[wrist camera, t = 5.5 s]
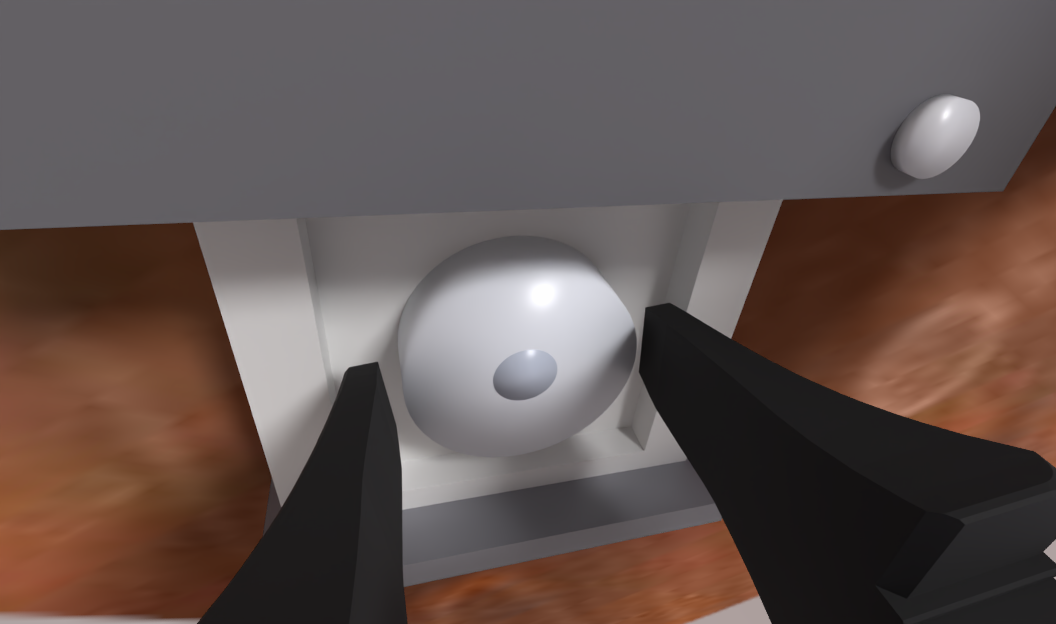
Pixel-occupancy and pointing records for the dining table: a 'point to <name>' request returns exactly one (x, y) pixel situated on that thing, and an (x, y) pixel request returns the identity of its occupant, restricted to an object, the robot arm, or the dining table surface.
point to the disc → (513, 347)
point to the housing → (505, 104)
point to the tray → (372, 336)
